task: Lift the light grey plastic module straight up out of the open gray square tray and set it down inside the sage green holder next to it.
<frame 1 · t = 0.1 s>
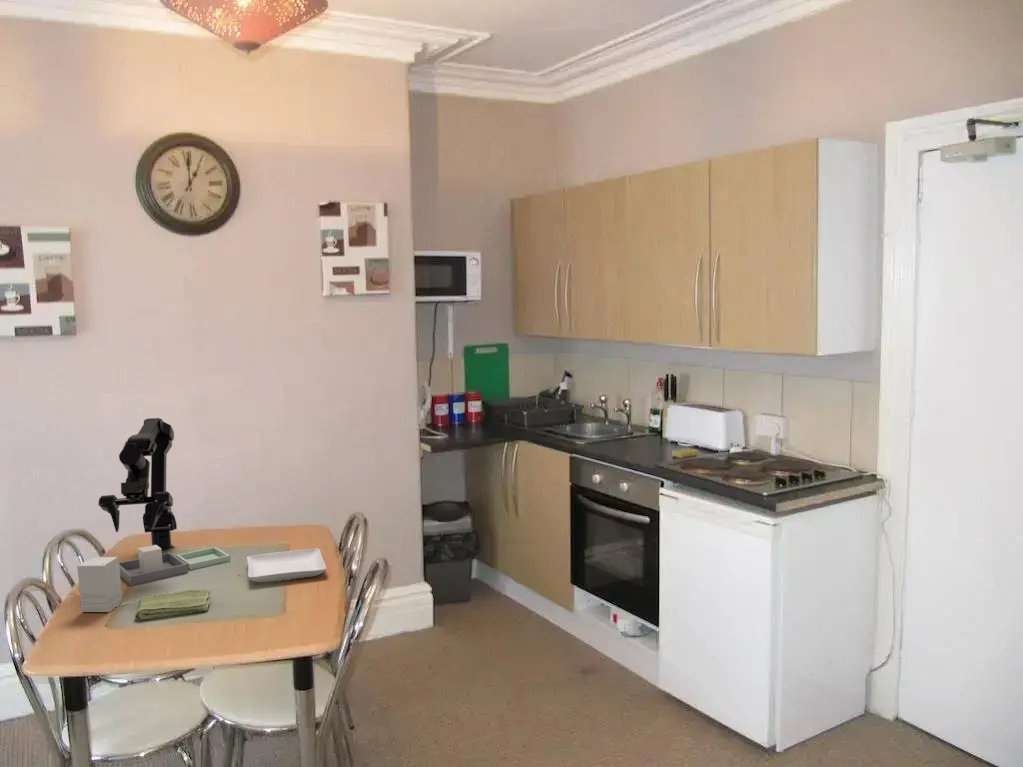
hand: (134, 530, 239), 15 cm above the table, tool tilted 30°, fingers open, 9 cm apart
gray square tray: (151, 573, 248), on the table
salad plate: (286, 573, 247), on the table
module: (151, 571, 247), point 1 cm above the table, touching gray square tray
washcloth: (174, 610, 220), on the table
supplement box: (102, 608, 222), on the table
holder: (203, 562, 257), on the table
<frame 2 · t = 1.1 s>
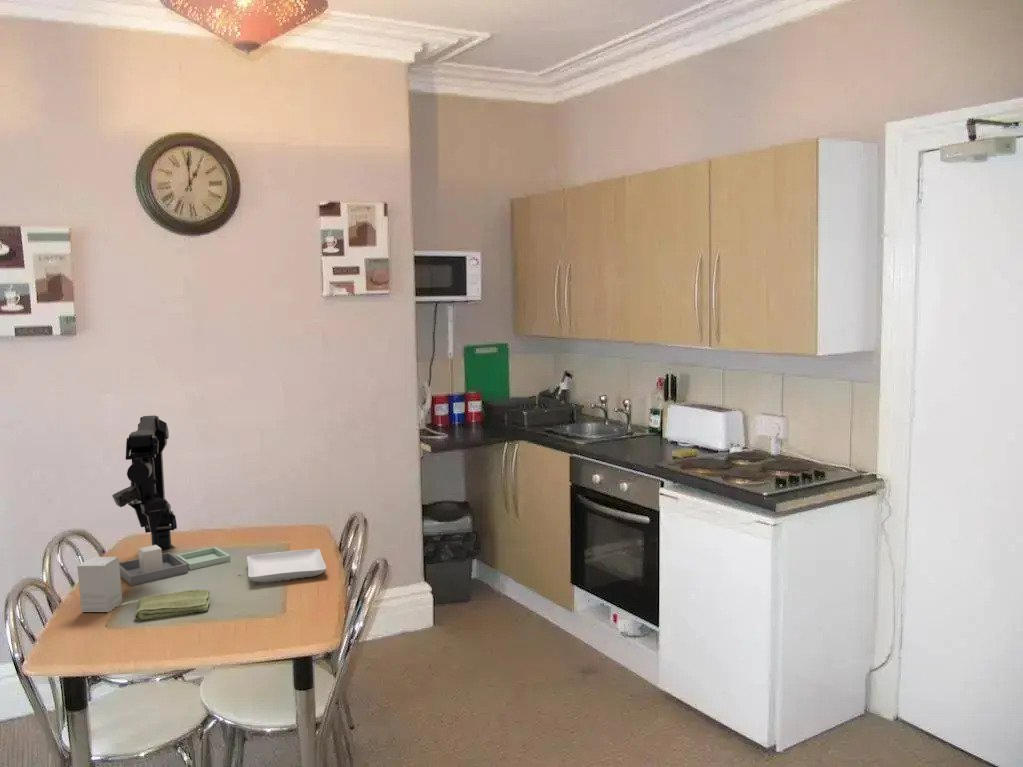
hand: (148, 529, 246), 13 cm above the table, tool pointing down, fingers open, 9 cm apart
nothing on the table moved.
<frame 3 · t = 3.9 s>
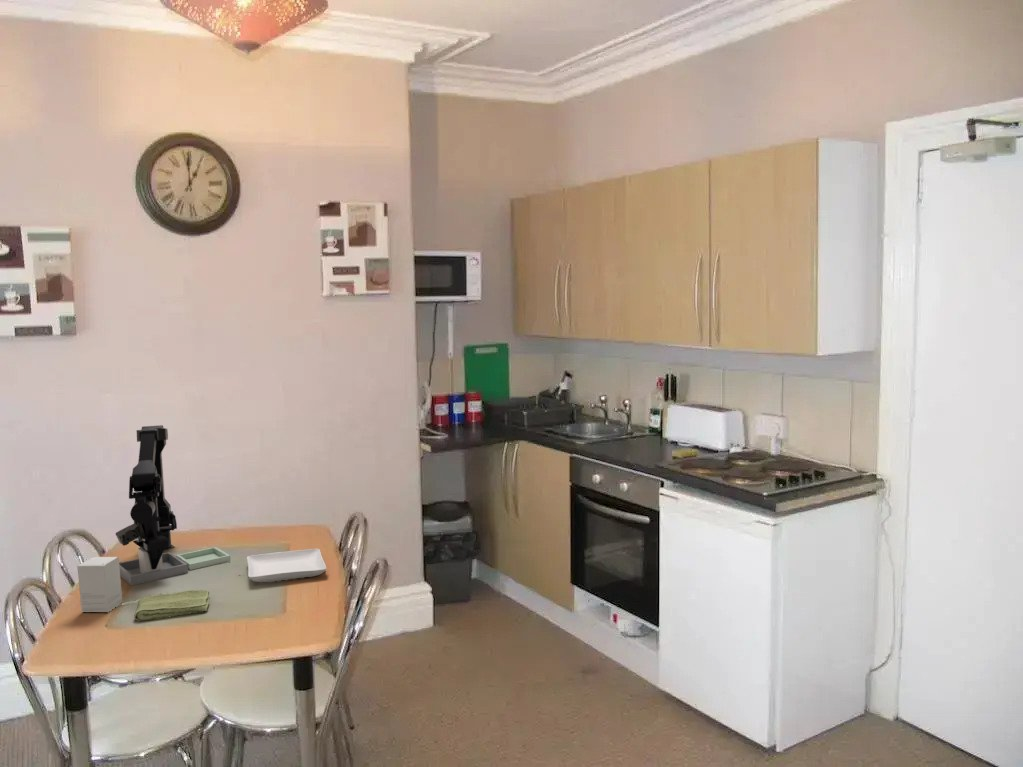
hand: (151, 566, 247), 2 cm above the table, tool pointing down, fingers closed on module, 5 cm apart
module: (151, 571, 247), point 1 cm above the table, touching gray square tray, gripper
everything else where it was.
when the fingers open (3 cm above the table, at t = 9.9 s): module drops 1 cm, resting on holder.
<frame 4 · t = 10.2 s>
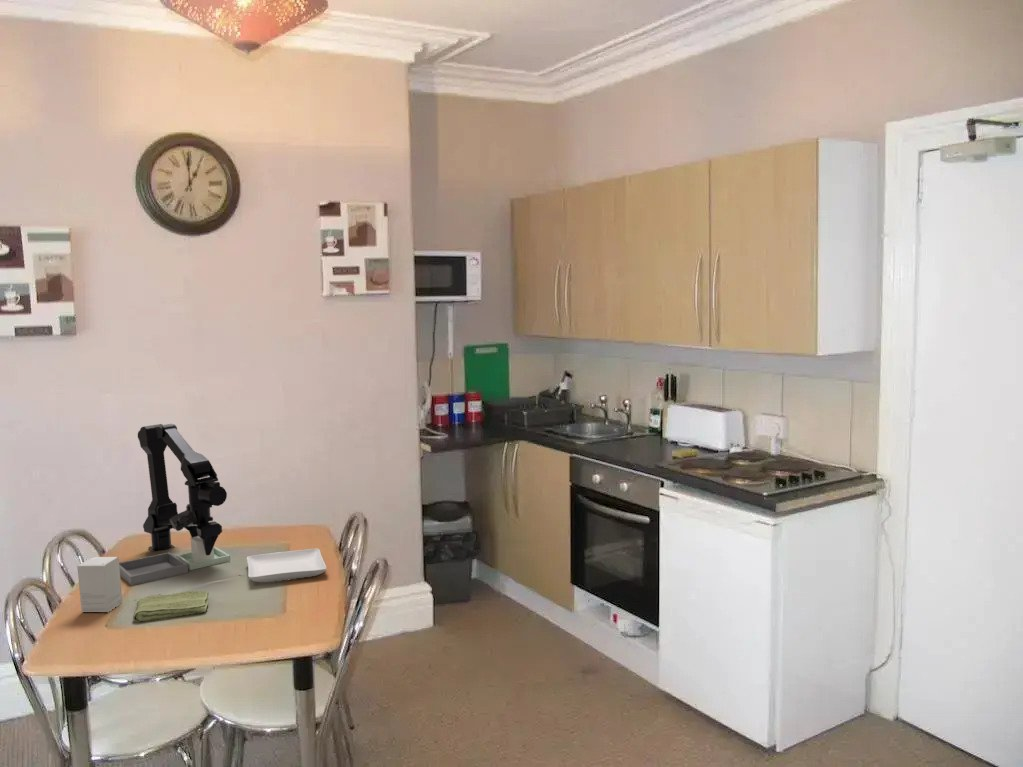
hand: (202, 551, 257), 3 cm above the table, tool pointing down, fingers open, 9 cm apart
module: (203, 560, 257), point 1 cm above the table, touching holder
everything else where it was.
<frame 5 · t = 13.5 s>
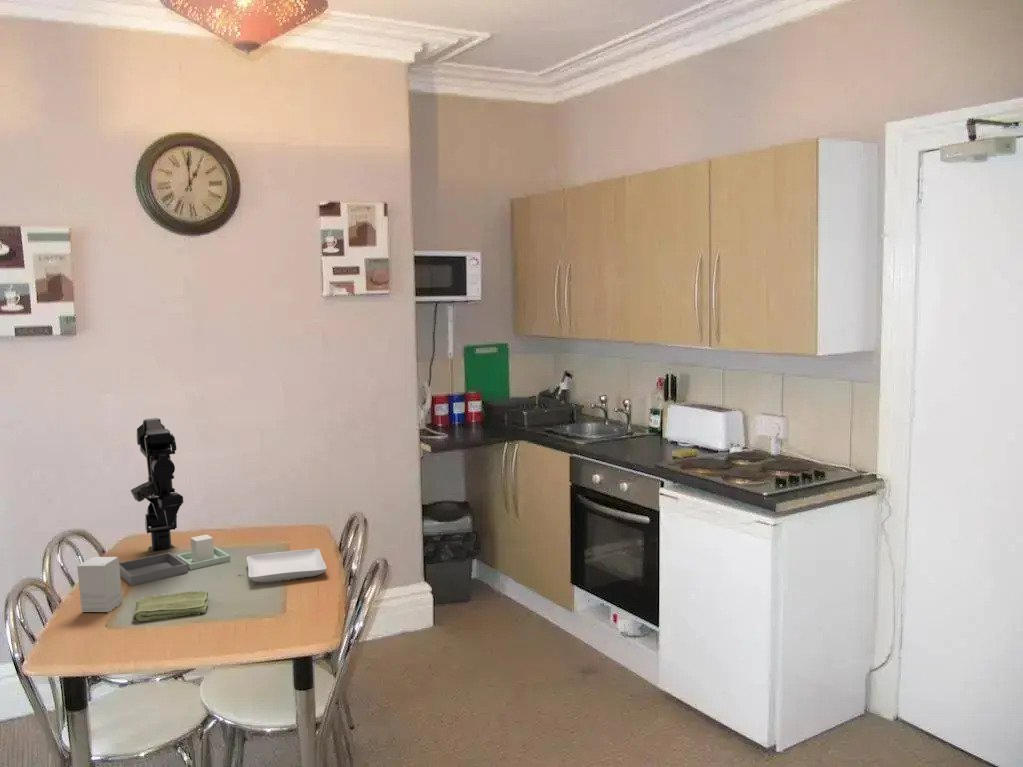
hand: (164, 523, 257), 12 cm above the table, tool pointing down, fingers open, 9 cm apart
at the end: module 0.0 cm off-centre on the holder, point 0.6 cm above the holder's base; module tilted 0°; the gripper is holding nothing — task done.
